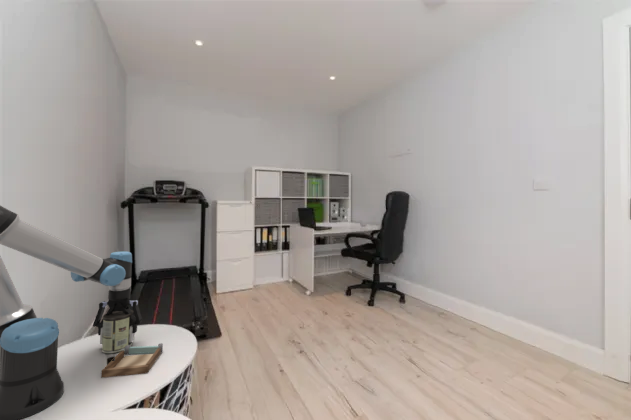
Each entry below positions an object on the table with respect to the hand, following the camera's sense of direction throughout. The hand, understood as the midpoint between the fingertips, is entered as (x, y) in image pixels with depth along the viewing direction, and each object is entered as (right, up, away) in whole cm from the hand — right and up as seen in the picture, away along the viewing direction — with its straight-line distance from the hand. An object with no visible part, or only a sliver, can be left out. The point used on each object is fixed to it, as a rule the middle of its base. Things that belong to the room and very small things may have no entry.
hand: (117, 341), depth 109 cm
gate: (+14, -3, -4) cm, 14 cm away
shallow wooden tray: (+15, -3, -11) cm, 19 cm away
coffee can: (0, -3, 0) cm, 3 cm away
